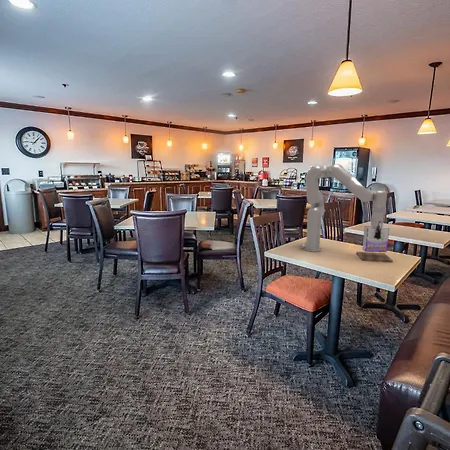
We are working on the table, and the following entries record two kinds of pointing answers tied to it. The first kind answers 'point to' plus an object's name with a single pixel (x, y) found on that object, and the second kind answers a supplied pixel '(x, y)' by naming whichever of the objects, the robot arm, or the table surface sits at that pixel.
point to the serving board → (374, 257)
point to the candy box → (375, 239)
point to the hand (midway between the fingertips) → (375, 236)
